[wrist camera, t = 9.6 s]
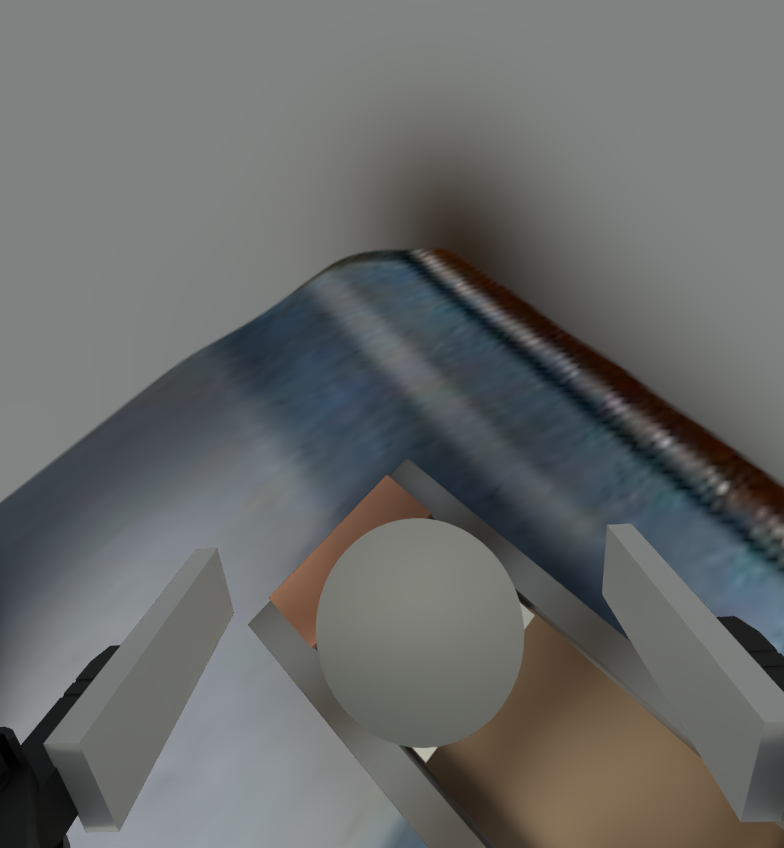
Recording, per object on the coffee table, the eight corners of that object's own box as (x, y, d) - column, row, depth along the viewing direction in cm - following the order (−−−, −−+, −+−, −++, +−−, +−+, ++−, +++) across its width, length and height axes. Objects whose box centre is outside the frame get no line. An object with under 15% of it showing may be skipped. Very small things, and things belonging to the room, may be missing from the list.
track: (273, 626, 23) (243, 624, 20) (410, 479, 26) (406, 453, 23) (667, 1098, 15) (737, 1239, 12) (801, 809, 18) (891, 851, 15)
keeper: (330, 644, 20) (202, 651, 9) (430, 530, 22) (423, 423, 11) (426, 754, 18) (408, 932, 7) (528, 617, 20) (638, 589, 9)
